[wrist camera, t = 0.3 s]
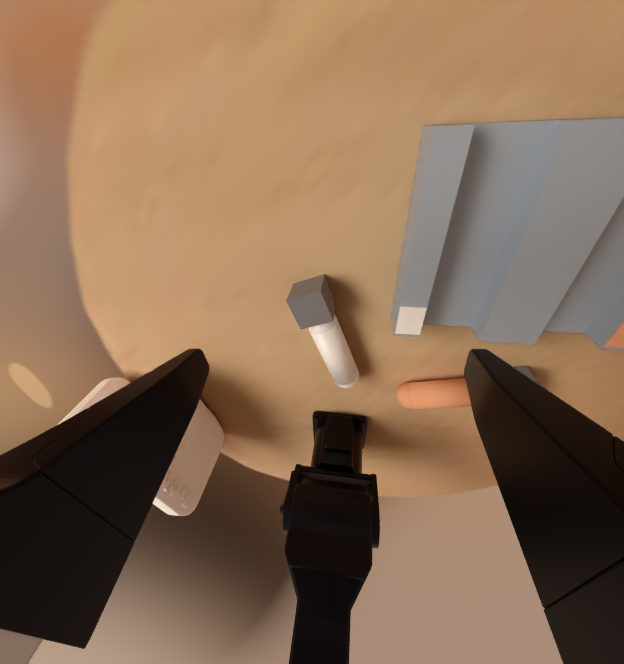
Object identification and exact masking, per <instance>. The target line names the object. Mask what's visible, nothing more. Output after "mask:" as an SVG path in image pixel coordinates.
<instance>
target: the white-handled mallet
mask: <svg viewBox="0 0 624 664" xmlns="http://www.w3.org/2000/svg"><path fill="white" fill-rule="evenodd" d="M287 303H288V305H289V307H290V309H291V311H292V313H293V315H294V317H295V319H296V321H297V323H298V325H299V327H300V329H304V328H309V331H310V333H311V335H312V337H313V339H314V341H315V343H316V345H317V347H318V349H319V351H320V353H321V355H322V357H323V360H324V362H325V364H326V366H327V368H328V370H329V372H330V374H331V376H332V378H333V380H334V382H335V383H336V384H337V385H338V386H339V387H341V388H344V389H349V388H352V387H354V386H355V385H356V384H357V382H358V380H359V371H358V368H357V366H356V364H355V361H354V359H353V356H352V354H351V351H350V349H349V346H348V344H347V341H346V339H345V337H344V334H343V332H342V329H341V327H340V324H339V322H338V319H337V317H336V316H335V314H334V312H335V305H336V302H335V300H334V297H333V295H332V292H331V289H330V287H329V284H328V282H327V279H326V277H325V274H324V275H321V276H317V277H314V278H311V279H308V280H304V281H301V282H298V283H295V284H293V286H292V289H291V291H290V293H289V296H288V298H287Z"/></svg>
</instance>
